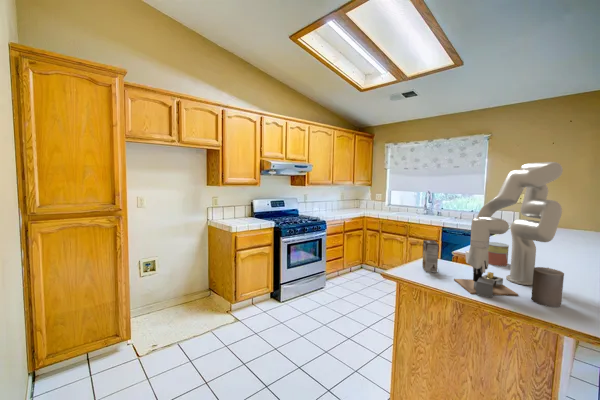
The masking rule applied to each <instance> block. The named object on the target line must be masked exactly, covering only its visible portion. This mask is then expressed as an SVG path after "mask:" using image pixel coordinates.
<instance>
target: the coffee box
mask: <svg viewBox="0 0 600 400" xmlns="http://www.w3.org/2000/svg"><path fill="white" fill-rule="evenodd" d="M422 241H423V243H422V244H423V245H422V269H424V271H425V272H426V273H427V272H428V273H438V264H439V263H438V262H439V245H440V244H439V243H438V242H437V241H436V240H427V239H424V240H422Z"/></svg>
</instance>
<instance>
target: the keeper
mask: <svg viewBox="0 0 600 400" xmlns="http://www.w3.org/2000/svg"><path fill="white" fill-rule="evenodd" d="M494 283H495V280H491V279H486V278H481V277H479V279H478V280H477V284H476V294H475V295H477V296H482V297H486V298H490V299H492V298H493V296H494V295H493V285H494Z"/></svg>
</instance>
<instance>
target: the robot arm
mask: <svg viewBox="0 0 600 400" xmlns="http://www.w3.org/2000/svg"><path fill="white" fill-rule="evenodd" d="M563 169H564V168H563V166H562V165H561V163H559V162H557V161H544V162H542V161H541V162H540V161H539V162H529V163H525V164H523V165H521V167H520V168H519V169H513V170H511V171H510V172H509V173H508V174H507V175H506V177H505V179H504V181H503V183H502V185H501V187H500V189H499V191H498V193H497V194H496V196H495V197H494V198H492V199H491V200H489V201H488V202H486V203H485V204H484V205H483V206H482V207H481V209H480V210H479V212H478V213H477V216H476V217H475V218H473V219H472V220H471V227H470V228H471V229H470V246H469V250H468V251H469V257H468V263H467V264H468V265H469V266H470V267H472V274H473V275H472V278H473V279H472V280H473V281H475V282H476V281H477V280H478V279H479V277H481V278H482V276H483V275H484V273H486V270H488V268H489V264H488V249H489V242H490V236H491V235H492V234H493V235H503V234H506V233H507V232H508V231H509V228H510V234H511V256H510V257H511V259H510V270H509V272H510V273H509V274H508V275H506V280H507V281H509V282H511V283H513V284H517V285H522V286H527V287H528V286H530V287H531V286H532V283H533V273H534V268H535V267H536V256H537V246H536V244H535V241H536V242H540V243H549V242H551V241H552V240H553V239H554V237H555V235H556V234H557V233H556V232H557V230H558V227H559V223H560V221H561V218H562V214H563V211H562V210H563V209H562V206H561V204H560V203H559V202H558V201H556V200H552V199H547V198H548V194H549V188H548V186H547V185H548V184H549V183H552V182H554V181H556V180H558V179H559V178H560V177H561V176H562V175H563V171H564V170H563ZM525 188H526V190H525ZM524 190H525V193H524V197H523V201H522V203H521V207H520V214H521V215H522V216H524V217H526V219H525V218H519V219H515V220H514V221H513V222H511V224H510V225H509V222H508V221H506V220H505V219H502V218H498V217H492V216H493V215H494V214H495V213H496V212H497V211H499V210H502V209H504V208H508V207H511V206H514V205H516V204H517V203H518V202H519V200H520V197H521V195H522V193H523V191H524ZM527 218H532V219H527ZM533 219H540V220H533Z"/></svg>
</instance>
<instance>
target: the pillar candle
mask: <svg viewBox="0 0 600 400" xmlns="http://www.w3.org/2000/svg"><path fill="white" fill-rule="evenodd" d="M564 276H565V273H564V272H563V271H561V270H558V269H555V268H551V267H544V266H543V267H542V266H537V267H536V266H535V268H534V273H533V283H532V287H531V298H530V300H531V301H533V302H534V303H536V304H538V305H540V306H545V307H549V308H561V306H562V302H563V301H562V299H563V289H564V278H565V277H564Z"/></svg>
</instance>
